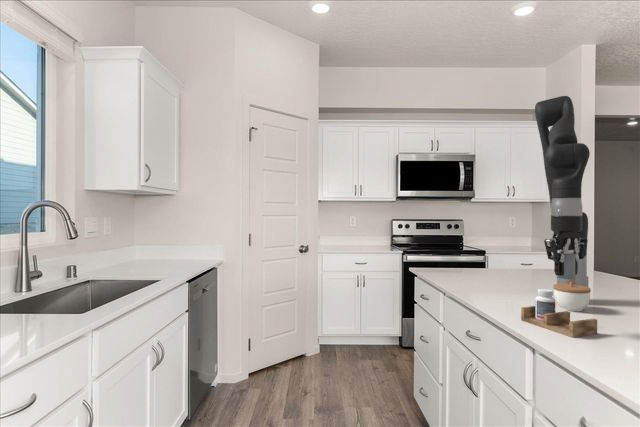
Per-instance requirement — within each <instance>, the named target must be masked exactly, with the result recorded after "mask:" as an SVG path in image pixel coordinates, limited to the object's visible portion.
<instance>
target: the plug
mask: <svg viewBox="0 0 640 427" xmlns="http://www.w3.org/2000/svg"><path fill="white" fill-rule="evenodd" d="M559 251H562V250H559ZM558 257H560V254H558ZM563 263H564V275H563V276H559V275H556V279H557V278H562V279H575V253H574V250H568V251H567V254H566V255H565V257H564V261H563Z"/></svg>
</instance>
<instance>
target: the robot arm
mask: <svg viewBox="0 0 640 427" xmlns="http://www.w3.org/2000/svg"><path fill="white" fill-rule="evenodd" d="M574 108H575V107H574V104H573V101H572V98H571V97H570V96H568V95H562V96H557V97H553V98H549V99H545V100H541V101H538V102H536V104H535V106H534V115H535V120H536V125H537V129H538V134H539V138H540V143H541V148H542V156H543V157H542V158H543V165H544V172H545V178H546V184H547V187H548V188H547V189H548V195H549V205H550V231H552V232H553V234H552V237H551V238H545V239H544V241H543V242H544V247H545V251H546V254H547V255H546V256H547V259H548V260H551V261H553V262H554V263H553V264H554V266H553V267H554V270H553V272H554V275H555V276H557V275H559V276H563V275H564V263H563V261H564V257H565V255H566V254H567V251H568V250H574V253H575V279H562V278H557V277H556V284H570V282H573V284H574V285H581V286H586V287H589V276H588V274H587V273H588V272H587V271H588V270H587V269H588V267H587V266H588V265H587V264H588V263H587V262H588V260H587V258H588V257H587V255H588V253H587V252H588V235H589V234H588V233H589V218H588V215H587V213H586V212H583V201H582V184H583V177H584V173H585V170H586V167H587V165H588V162H589V159H590V154H591V152H590V149H589V146H588V145H586V144H585V143H583V142H582V143H581V142H580V143H579V142H578V138H577V134H576V131H575V130H576V129H575V122H576V121H575V109H574ZM549 127H551V128H550V129H549ZM559 250H562V251H559ZM558 254H560V257H558Z"/></svg>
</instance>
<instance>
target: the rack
mask: <svg viewBox="0 0 640 427" xmlns="http://www.w3.org/2000/svg"><path fill="white" fill-rule="evenodd" d="M520 310H521V312H520V318H521V321H522V322H526V323H528V324H532V325H535V326H537V327H541V328H543V329H546V330H549V331H552V332H555V333H559V334H561V335H564V336H567V337H570V338H578V337H585V336H593V335H598V319H596V318H589V319H588V318H587V319H586V318H585V319H579V320H571V311H567V310H564V311H557V312H556V311H555V313H548V314H544V321H541V320H538V319H536V317H535V305H529V306H522V307H521V308H520Z"/></svg>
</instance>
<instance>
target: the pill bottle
mask: <svg viewBox="0 0 640 427" xmlns="http://www.w3.org/2000/svg"><path fill="white" fill-rule="evenodd" d="M537 294H538V295H537V296H535V300H534V303H535V305H534V306H535V317H536V319H538V320H541V321H544V314H548V313H556V301H555V298H554V290H552V289H549V288H538V289H537Z"/></svg>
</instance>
